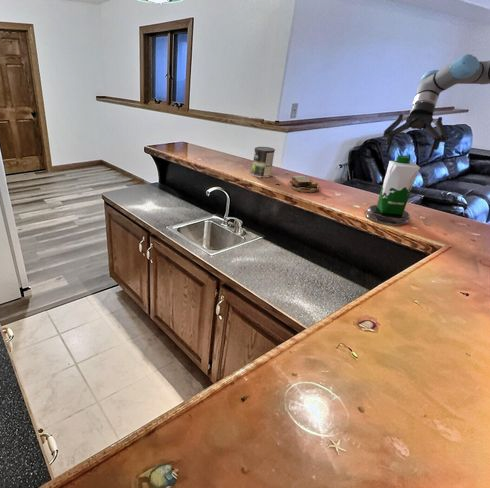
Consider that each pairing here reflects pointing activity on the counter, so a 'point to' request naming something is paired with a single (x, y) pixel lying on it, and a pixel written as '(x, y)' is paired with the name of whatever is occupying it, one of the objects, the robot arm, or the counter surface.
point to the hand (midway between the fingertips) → (408, 153)
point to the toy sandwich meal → (303, 184)
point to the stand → (387, 217)
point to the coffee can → (262, 162)
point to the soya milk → (397, 185)
